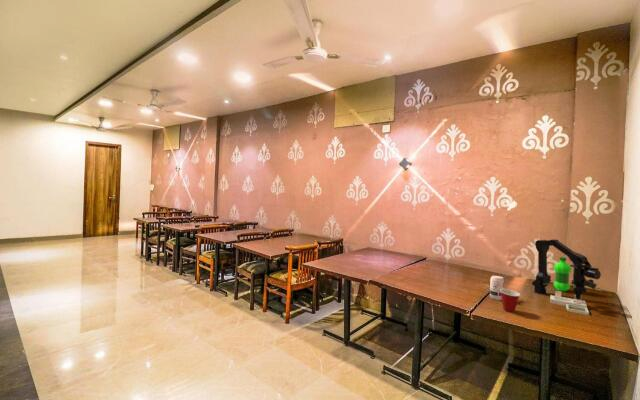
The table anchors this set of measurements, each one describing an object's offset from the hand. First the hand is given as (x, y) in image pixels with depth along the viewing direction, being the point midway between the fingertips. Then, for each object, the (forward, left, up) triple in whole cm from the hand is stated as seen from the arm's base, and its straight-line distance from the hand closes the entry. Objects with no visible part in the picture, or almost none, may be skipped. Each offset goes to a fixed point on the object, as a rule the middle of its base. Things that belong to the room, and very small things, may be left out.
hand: (577, 298), depth 196 cm
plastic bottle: (-7, +37, -6) cm, 38 cm away
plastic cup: (-35, -35, -6) cm, 50 cm away
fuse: (-10, 0, -4) cm, 11 cm away
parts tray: (-1, -10, -6) cm, 12 cm away
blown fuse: (0, 0, -4) cm, 4 cm away
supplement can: (-44, -15, -6) cm, 47 cm away
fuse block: (-5, 0, -6) cm, 7 cm away
